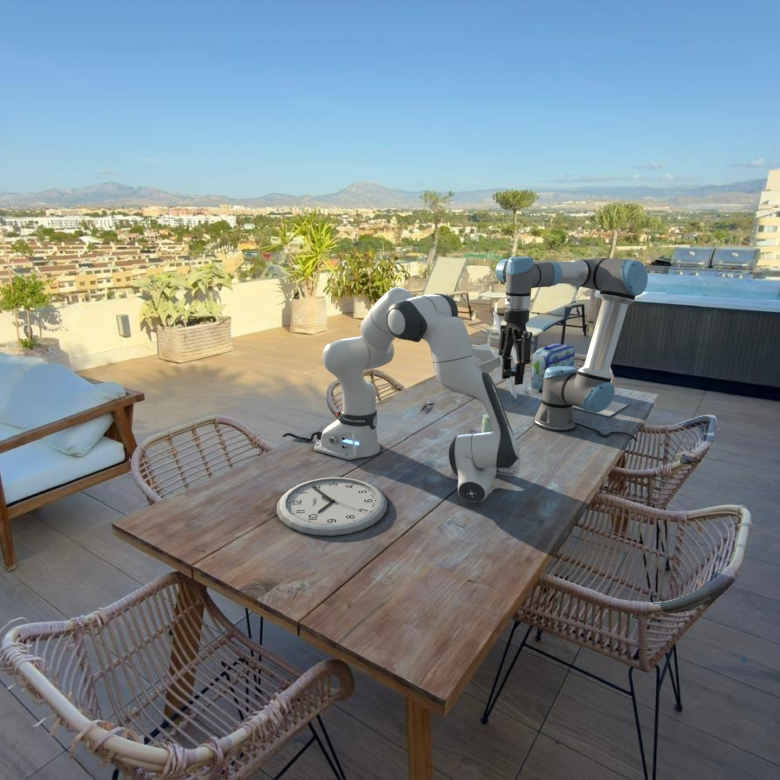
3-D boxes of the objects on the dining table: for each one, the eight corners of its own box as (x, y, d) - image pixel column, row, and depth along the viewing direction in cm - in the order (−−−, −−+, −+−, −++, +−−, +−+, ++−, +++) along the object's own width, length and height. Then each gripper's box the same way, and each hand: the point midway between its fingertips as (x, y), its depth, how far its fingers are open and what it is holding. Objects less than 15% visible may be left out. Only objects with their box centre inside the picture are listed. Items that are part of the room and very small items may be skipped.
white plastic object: (461, 429, 252) (437, 405, 227) (444, 352, 274) (420, 323, 250) (535, 404, 240) (518, 377, 215) (510, 326, 262) (492, 293, 237)
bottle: (477, 465, 168) (481, 412, 163) (494, 466, 168) (499, 413, 162) (479, 473, 163) (483, 418, 158) (497, 474, 163) (501, 419, 157)
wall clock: (392, 527, 129) (268, 531, 127) (391, 533, 130) (269, 537, 127) (383, 473, 158) (282, 475, 155) (383, 478, 158) (282, 480, 156)
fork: (417, 411, 216) (418, 406, 216) (428, 400, 231) (428, 395, 230) (423, 412, 215) (424, 407, 215) (434, 400, 230) (434, 396, 229)
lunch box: (547, 395, 239) (552, 351, 233) (526, 390, 247) (530, 347, 240) (574, 384, 257) (579, 343, 251) (554, 380, 264) (558, 339, 258)
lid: (516, 377, 162) (517, 372, 161) (498, 374, 166) (499, 368, 165) (526, 373, 166) (526, 368, 166) (508, 369, 170) (508, 364, 170)
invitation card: (608, 416, 214) (573, 407, 224) (608, 416, 214) (573, 408, 224) (628, 404, 229) (594, 396, 238) (628, 405, 229) (594, 397, 238)
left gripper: (519, 464, 148) (523, 446, 160) (448, 453, 154) (458, 436, 167) (517, 484, 150) (521, 464, 162) (447, 472, 156) (457, 454, 168)
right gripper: (489, 305, 167) (485, 374, 174) (526, 314, 150) (520, 391, 157) (509, 303, 169) (504, 372, 177) (547, 313, 153) (540, 388, 160)
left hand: (489, 450), depth 164 cm, fingers closed on bottle, 5 cm apart
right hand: (512, 381), depth 167 cm, fingers closed on lid, 6 cm apart
